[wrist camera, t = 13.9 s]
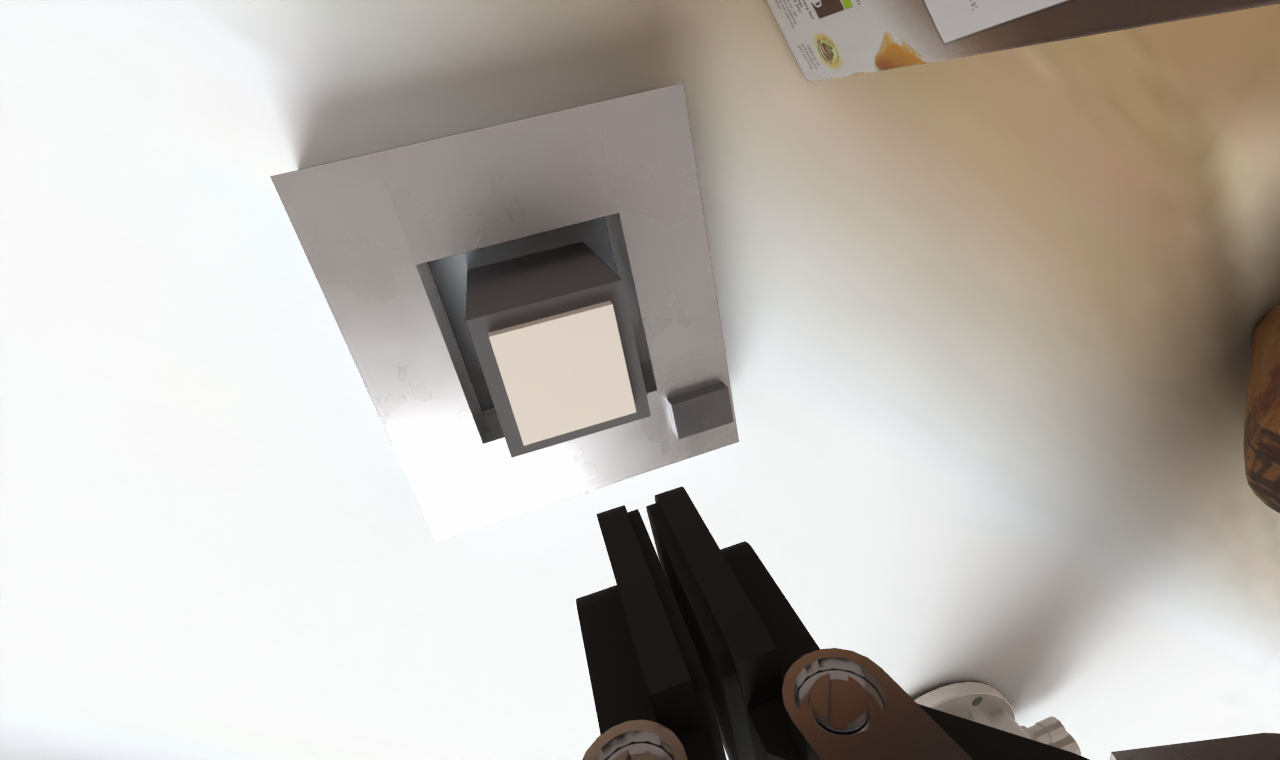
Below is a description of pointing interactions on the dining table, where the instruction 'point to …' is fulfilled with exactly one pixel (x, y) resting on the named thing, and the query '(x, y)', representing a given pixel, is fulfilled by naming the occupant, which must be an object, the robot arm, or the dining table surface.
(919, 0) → the coffee box
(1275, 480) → the vase
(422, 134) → the dining table surface
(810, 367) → the dining table surface
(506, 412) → the plug
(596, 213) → the socket plate
